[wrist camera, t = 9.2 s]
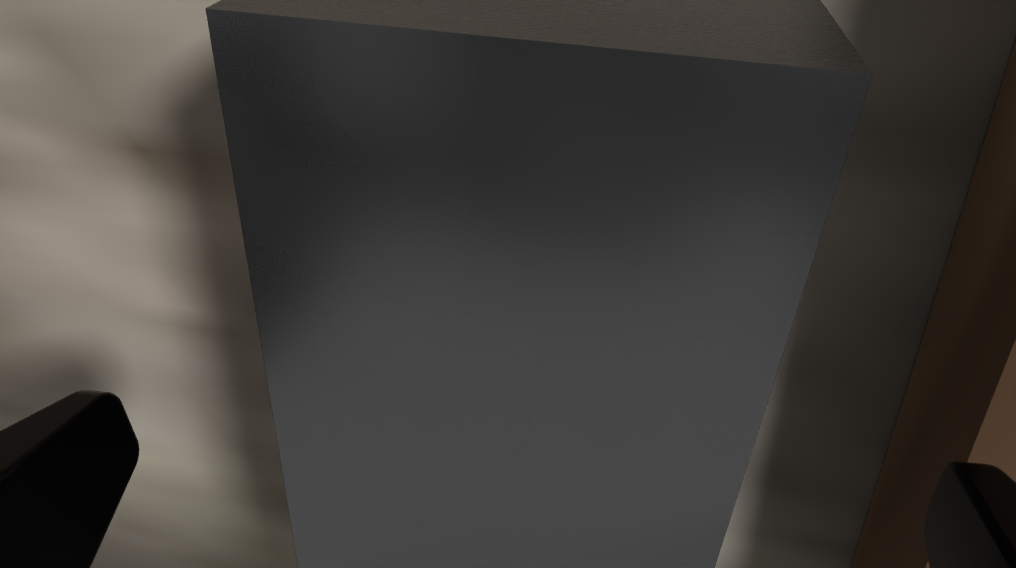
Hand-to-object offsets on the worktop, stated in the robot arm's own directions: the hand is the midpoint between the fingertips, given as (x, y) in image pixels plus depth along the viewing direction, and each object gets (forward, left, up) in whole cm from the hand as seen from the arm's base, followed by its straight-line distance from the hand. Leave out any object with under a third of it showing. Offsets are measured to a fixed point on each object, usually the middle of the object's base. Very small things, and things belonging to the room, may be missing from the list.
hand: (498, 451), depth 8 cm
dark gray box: (0, 0, -3) cm, 3 cm away
